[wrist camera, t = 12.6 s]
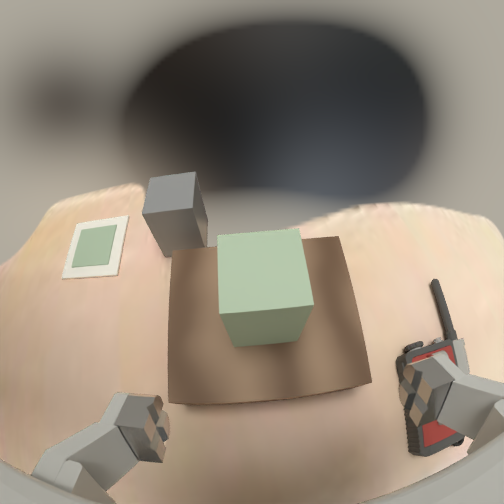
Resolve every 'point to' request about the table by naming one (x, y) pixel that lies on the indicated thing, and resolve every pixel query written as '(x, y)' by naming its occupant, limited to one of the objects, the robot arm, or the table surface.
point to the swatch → (96, 248)
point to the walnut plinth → (269, 355)
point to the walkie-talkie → (433, 433)
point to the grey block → (176, 212)
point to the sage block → (263, 286)
